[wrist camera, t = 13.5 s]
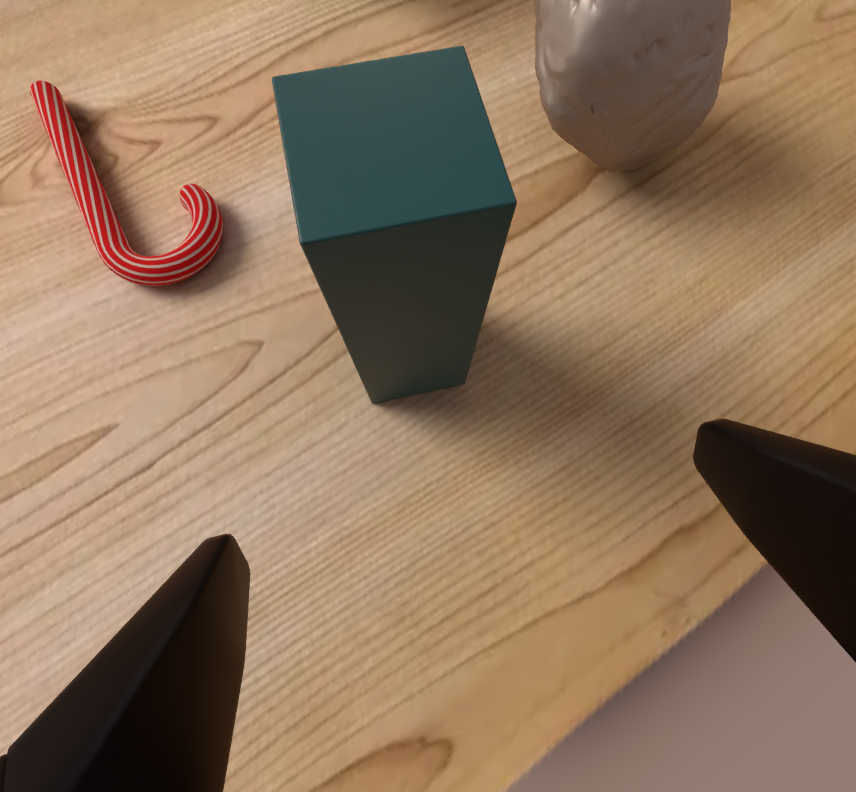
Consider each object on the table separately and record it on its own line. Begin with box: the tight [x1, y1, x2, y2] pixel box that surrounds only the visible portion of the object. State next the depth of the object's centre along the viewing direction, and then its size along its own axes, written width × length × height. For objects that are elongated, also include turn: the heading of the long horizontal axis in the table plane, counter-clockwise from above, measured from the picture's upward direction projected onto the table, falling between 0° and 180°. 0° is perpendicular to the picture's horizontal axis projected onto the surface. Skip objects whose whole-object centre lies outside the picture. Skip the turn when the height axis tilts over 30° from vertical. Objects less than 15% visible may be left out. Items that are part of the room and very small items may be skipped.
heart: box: [535, 0, 731, 172], centre depth 19 cm, size 10×10×12 cm
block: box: [272, 46, 517, 404], centre depth 15 cm, size 4×4×12 cm
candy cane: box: [30, 81, 223, 286], centre depth 23 cm, size 6×15×2 cm, turn 31°
